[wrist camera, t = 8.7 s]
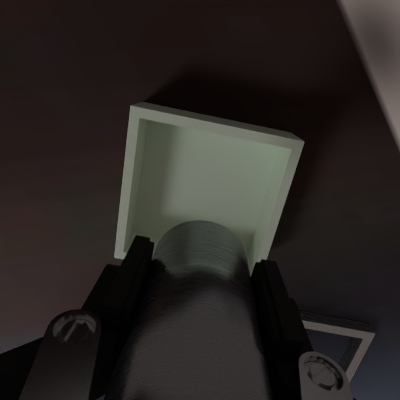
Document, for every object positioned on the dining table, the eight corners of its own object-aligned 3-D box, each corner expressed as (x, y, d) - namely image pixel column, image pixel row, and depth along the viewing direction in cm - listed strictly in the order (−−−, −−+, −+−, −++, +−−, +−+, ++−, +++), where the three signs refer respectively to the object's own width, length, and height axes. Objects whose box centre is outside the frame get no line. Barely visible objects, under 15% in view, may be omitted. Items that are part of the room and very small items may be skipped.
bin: (252, 257, 25) (258, 284, 22) (127, 234, 25) (114, 257, 22) (290, 132, 22) (304, 141, 18) (143, 101, 21) (130, 105, 18)
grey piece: (335, 388, 31) (364, 460, 25) (202, 365, 30) (200, 432, 24) (368, 323, 28) (411, 387, 22) (221, 296, 27) (223, 354, 21)
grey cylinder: (257, 230, 12) (343, 523, 4) (234, 306, 14) (265, 634, 6) (161, 211, 12) (55, 477, 4) (148, 290, 14) (52, 601, 6)
